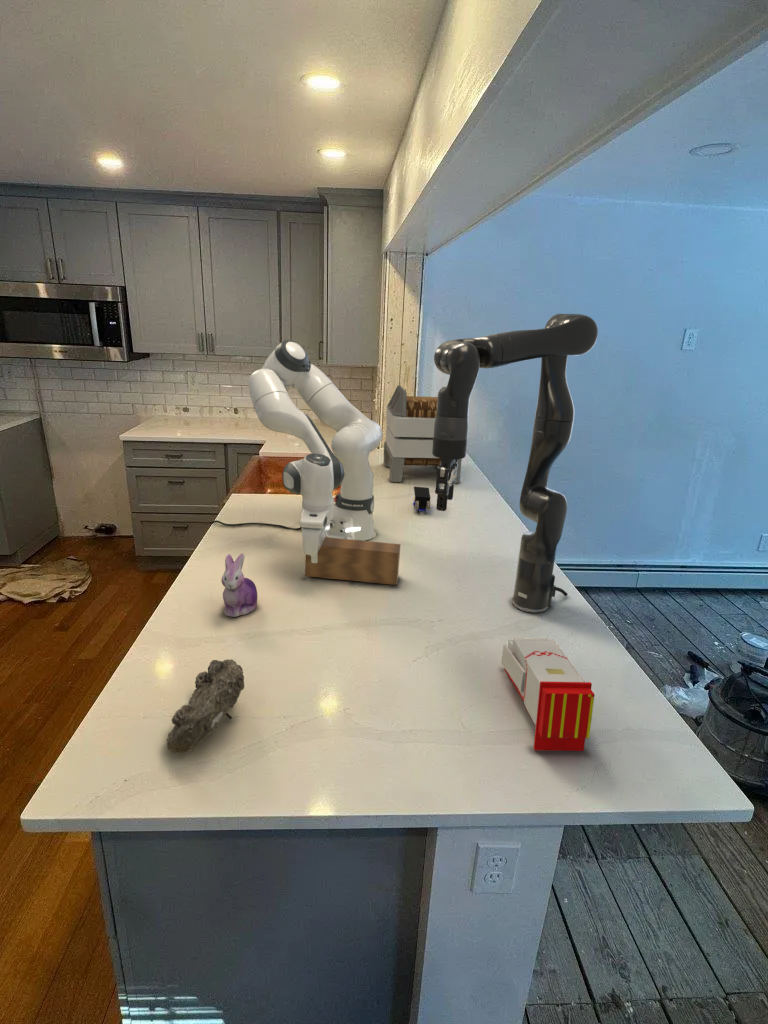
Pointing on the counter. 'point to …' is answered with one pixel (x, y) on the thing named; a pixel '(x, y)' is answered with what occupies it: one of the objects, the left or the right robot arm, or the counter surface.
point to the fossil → (206, 705)
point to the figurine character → (421, 499)
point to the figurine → (237, 589)
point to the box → (356, 561)
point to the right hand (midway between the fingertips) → (444, 504)
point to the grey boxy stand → (410, 433)
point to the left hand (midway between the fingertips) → (317, 556)
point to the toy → (550, 693)
